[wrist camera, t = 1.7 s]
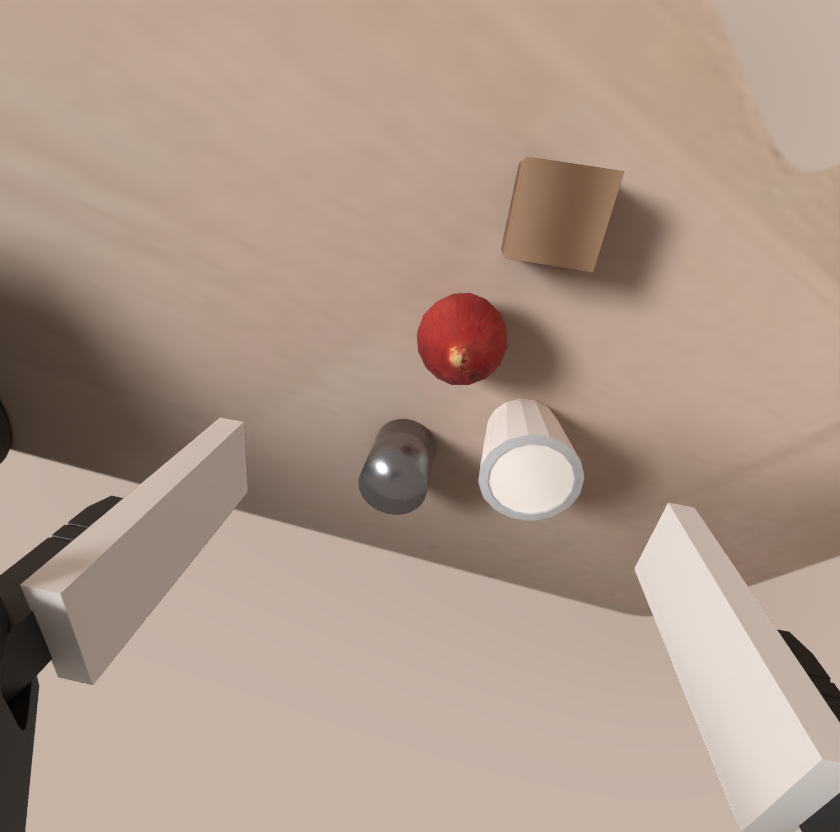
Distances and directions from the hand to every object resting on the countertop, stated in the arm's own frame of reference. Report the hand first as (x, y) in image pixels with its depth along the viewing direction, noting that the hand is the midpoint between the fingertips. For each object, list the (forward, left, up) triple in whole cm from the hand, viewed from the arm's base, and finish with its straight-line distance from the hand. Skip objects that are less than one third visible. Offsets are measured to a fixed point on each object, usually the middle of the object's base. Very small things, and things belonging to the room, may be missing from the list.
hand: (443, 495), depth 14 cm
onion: (0, 0, -21) cm, 21 cm away
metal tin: (-3, -11, -20) cm, 23 cm away
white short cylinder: (+6, -8, -21) cm, 23 cm away
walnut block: (+4, +8, -20) cm, 22 cm away
